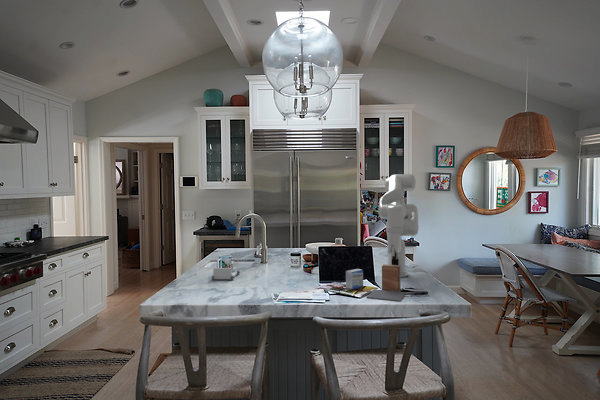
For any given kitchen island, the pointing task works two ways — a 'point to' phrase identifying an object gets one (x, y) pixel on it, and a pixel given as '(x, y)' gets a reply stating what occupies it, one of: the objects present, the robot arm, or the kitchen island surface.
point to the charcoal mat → (386, 295)
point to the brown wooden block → (391, 277)
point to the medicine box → (354, 278)
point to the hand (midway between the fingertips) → (395, 266)
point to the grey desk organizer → (225, 272)
